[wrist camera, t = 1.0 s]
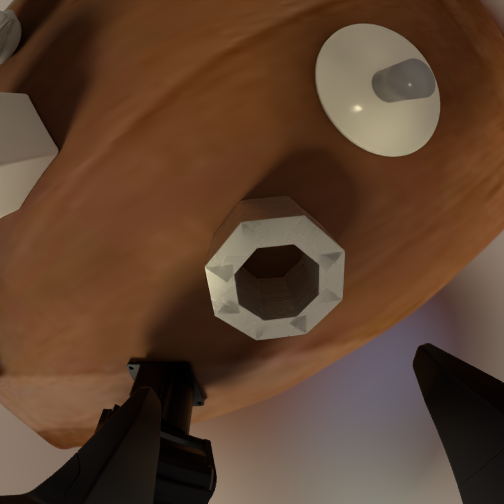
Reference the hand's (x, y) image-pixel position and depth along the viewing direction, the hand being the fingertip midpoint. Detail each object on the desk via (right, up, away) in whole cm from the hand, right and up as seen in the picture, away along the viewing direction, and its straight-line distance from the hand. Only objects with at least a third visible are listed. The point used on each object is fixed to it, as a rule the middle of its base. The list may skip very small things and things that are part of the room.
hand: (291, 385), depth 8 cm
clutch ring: (0, +4, +11) cm, 12 cm away
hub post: (+8, +15, +7) cm, 19 cm away
